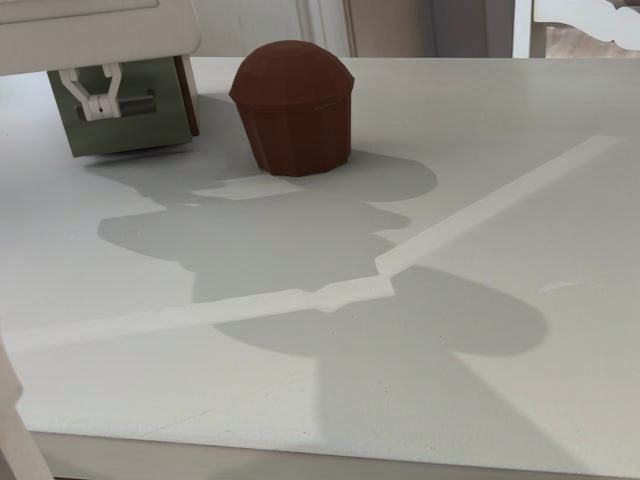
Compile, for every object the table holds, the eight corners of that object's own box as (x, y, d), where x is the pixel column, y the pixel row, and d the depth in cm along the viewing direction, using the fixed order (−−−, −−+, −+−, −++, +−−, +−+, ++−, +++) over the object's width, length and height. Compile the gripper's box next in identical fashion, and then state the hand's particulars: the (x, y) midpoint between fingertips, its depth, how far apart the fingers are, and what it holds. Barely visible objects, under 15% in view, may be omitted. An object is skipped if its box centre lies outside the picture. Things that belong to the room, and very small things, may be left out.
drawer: (192, 156, 96) (171, 68, 91) (69, 173, 95) (41, 84, 90) (191, 101, 111) (172, 22, 106) (83, 115, 109) (60, 35, 104)
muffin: (389, 151, 97) (376, 36, 90) (308, 189, 90) (288, 68, 84) (300, 133, 103) (282, 24, 96) (218, 167, 96) (193, 53, 90)
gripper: (183, -78, 87) (219, 93, 95) (-67, -53, 84) (-6, 121, 93) (182, -67, 82) (221, 113, 91) (-83, -40, 79) (-17, 142, 88)
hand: (104, 117), depth 92 cm, fingers closed
